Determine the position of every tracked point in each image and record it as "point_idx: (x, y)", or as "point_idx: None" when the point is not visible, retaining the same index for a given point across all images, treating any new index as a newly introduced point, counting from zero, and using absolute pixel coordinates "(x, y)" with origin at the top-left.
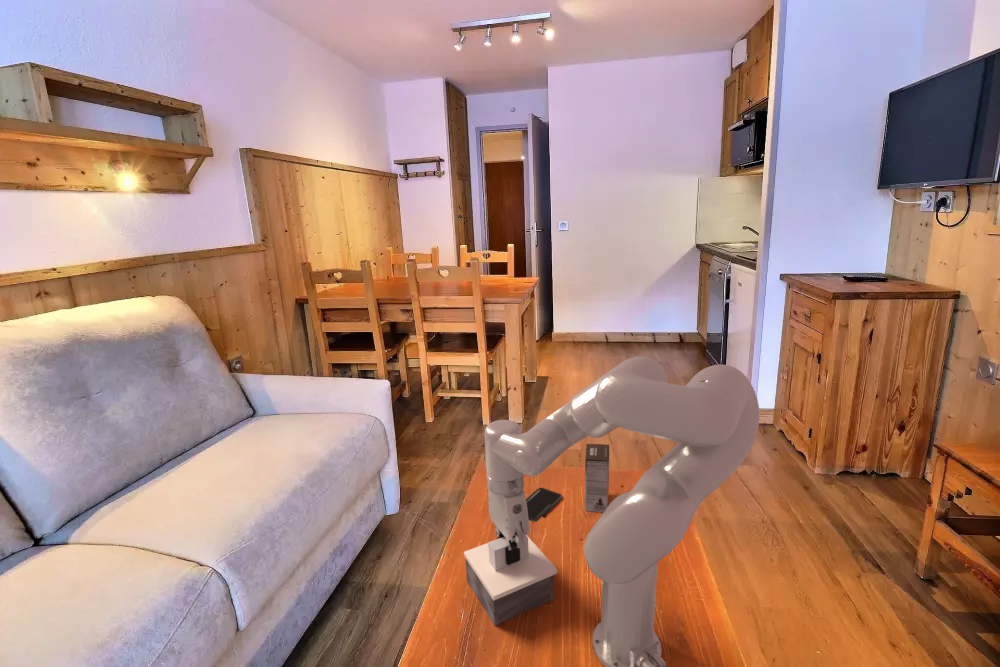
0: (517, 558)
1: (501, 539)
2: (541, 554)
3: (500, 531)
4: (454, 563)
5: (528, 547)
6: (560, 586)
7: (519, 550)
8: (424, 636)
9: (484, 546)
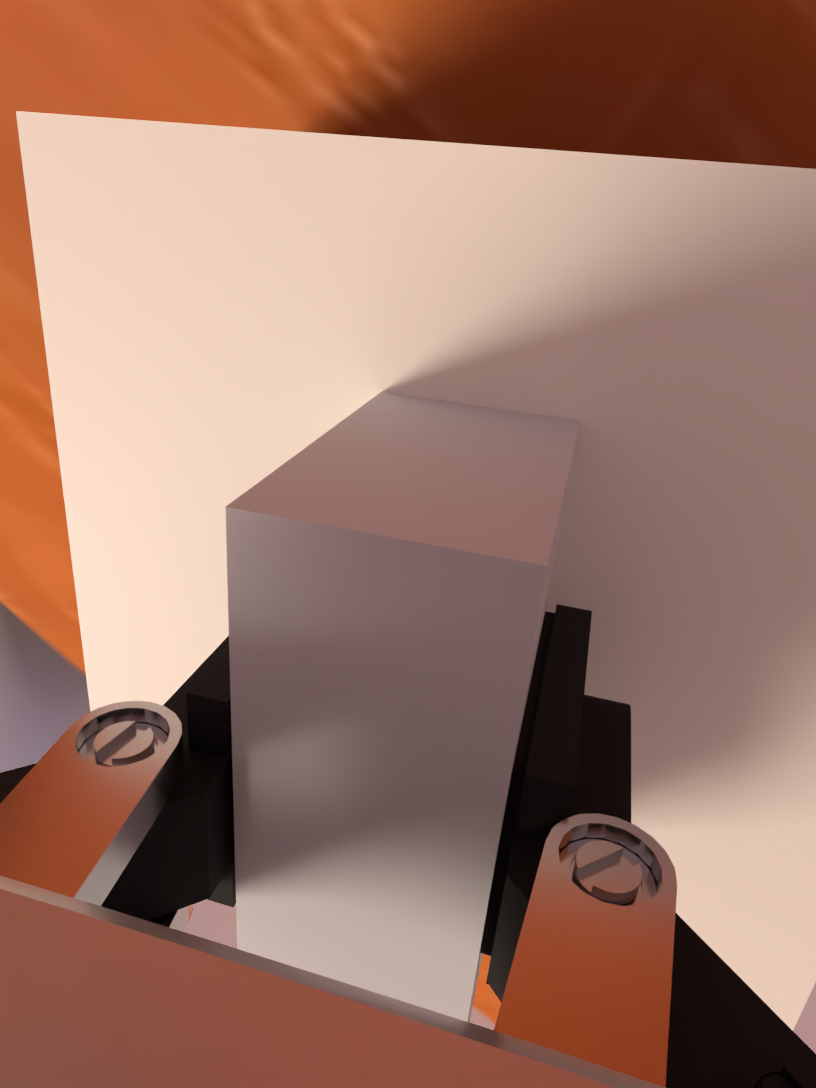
0: (625, 722)
1: (279, 906)
2: (657, 199)
3: (134, 913)
4: (68, 612)
5: (392, 277)
6: (776, 16)
7: (580, 704)
8: (483, 992)
9: (116, 680)
